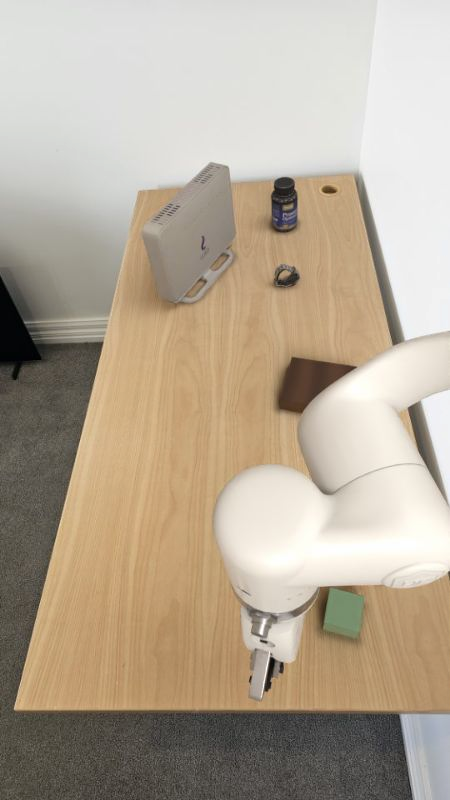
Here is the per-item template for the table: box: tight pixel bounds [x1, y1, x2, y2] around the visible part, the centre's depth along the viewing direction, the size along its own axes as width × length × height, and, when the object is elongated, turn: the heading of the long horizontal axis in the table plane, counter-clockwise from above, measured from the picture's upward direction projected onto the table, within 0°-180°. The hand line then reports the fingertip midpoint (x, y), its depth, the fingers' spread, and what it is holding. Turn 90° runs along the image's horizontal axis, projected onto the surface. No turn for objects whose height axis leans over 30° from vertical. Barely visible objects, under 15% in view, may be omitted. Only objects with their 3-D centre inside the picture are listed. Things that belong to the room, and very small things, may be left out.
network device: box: [141, 161, 237, 304], centre depth 106 cm, size 26×9×20 cm, turn 148°
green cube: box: [322, 586, 365, 639], centre depth 67 cm, size 4×4×4 cm
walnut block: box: [279, 356, 358, 414], centre depth 90 cm, size 12×10×3 cm
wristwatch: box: [273, 263, 301, 288], centre depth 107 cm, size 3×5×5 cm
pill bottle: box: [270, 176, 299, 233], centre depth 116 cm, size 6×6×11 cm
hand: (278, 618), depth 54 cm, fingers open, 9 cm apart
